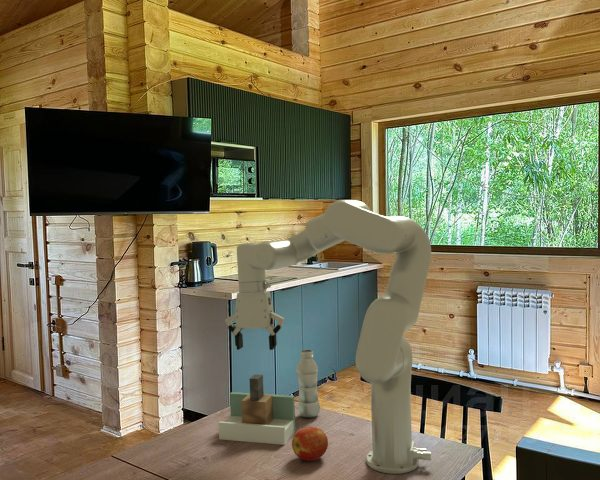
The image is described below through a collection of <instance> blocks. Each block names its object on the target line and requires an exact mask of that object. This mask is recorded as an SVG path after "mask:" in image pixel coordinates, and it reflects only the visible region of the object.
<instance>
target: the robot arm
mask: <svg viewBox="0 0 600 480" xmlns="http://www.w3.org/2000/svg"><path fill="white" fill-rule="evenodd" d="M345 241H346V242H349V243H351V244H353V245H356V246H358V247H359V248H363V249H365V250H368V251H371V252H373V253H376V254H379V255H390V254H394V253H395V259H394V262H393V264H392V267H391V269H390V272H389V276H388V282H387V286H386V288H385V292H384V294H383V295H382V296H379V297H378V298H375V299H374V300H373V301H372V302H371V303H370V305H369V307H368V308H367V309H366V313H365V315H364V318H363V321H362V327H361V330H360V335H359V339H358V344H357V348H356V353H355V366H356V370H357V373H358V374H359V375H360V377H361V378H362V379H363V380H364V381H366V382H367V383H370V398H371V399H370V404H371V405H370V407H371V408H370V409H371V410H370V411H371V440H372V441H371V445H372V448H371V449H372V450H371V451H369V452H368V453H367V454H366V459H365V460H366V464H367V465H368V467H370V468H371V469H373V470H374V471H376V472H380V473H382V474H383V473H384V474H388V475H389V474H393V475H394V474H395V475H398V474H399V475H400V474H407V473H410V472H413V471H414V470H416V469H417V468H418V466H419V464H420V460H423V461H431V462H432V452H431V451H427V448H425V447H424V448H423V447H422V448H421V447H420V448H419V447H417V446H415V441H414V440H413V439H412V438H413V437H412V435H413V434H412V408H411V407H412V404H411V402H412V392H411V390H412V389H411V386H412V385H411V384H412V383H411V382H412V371H413V370H412V369H413V368H412V367H413V352H412V351H413V350H412V347H411V344H410V343H409V341H408V339H407V338H406V337H404V333H405V332H407V331H408V330H409V331H410V329H411V328H413V327H414V325H416V323H417V321H418V318H419V314H420V309H421V304H422V300H423V295H424V291H425V287H426V282H427V280H428V279H427V278H428V274H429V270H430V266H431V260H432V246H431V241H430V238H429V236H428V234H427V232H426V231H425V229H424V228H423V227H422V226H421V224H419V223H418V222H417V221H415V220H414V219H412V218H409V217H407V216H404V215H391V216H385V215H381V214H379V213H376V212H373V211H371V208H369V206H368V205H367V204H365V202H363V201H361V200H357V199H339V200H336V201H333V202H332V203H330V205H328V206H327V208H326V209H325V212H324V213H321V214H320V215H318V216H316V217H313V218H312V219H309V220H308V221H307V222H306V224H305V229H304V230H303V231H301V232H299V233H297V234H295V235H293V236H291V237H289V238H286V239H281V240H273V241H264V242H244V243H240V244H238V245H237V247H236V260H237V261H236V263H237V277H238V279H237V280H238V281H237V282H238V292H237V294H236V297H235V299H236V300H235V309H234V310H235V311H234V312H235V313H233V314H231V315H230V316H228V317H226V318H225V319H224V322H225V324H226V326H227V328H228V329H229V331H230V332H231V333H232V335H233V336H234V344H235V346H236V350H238V351H239V350H240V349H241V350H242V348H243V347H244V338H243V337H244V334H243V333H242V331H243V330H246V329H248V330H249V329H250V330H251V329H252V330H253V329H254V330H258V329H259V330H261V329H265V330H267V332H268V333H269V335H268V345H269V347H268V348H269V351H273V350H274V349H276V347H277V344H278V341H277V333H278V332H279V331H280V330H281V329H282V327H283V325H284V322H285V320H286V319H285V317H283V316H281V315H279V314H277V313H275V312H274V306H273V301H272V296H271V293H270V292H271V291H269V290H267V289H268V288H270V289H271V286H272V284H271V282H267V279H266V271H273V270H277V269H282V268H287V267H288V268H289V267H291V266H294V265H296V264H299V263H301V262H302V261H305V260H308V259H310V258H312V257H315V255H318V254H319V253H321V252H323V251H325V250H328V249H329V248H332V247H334V246H336V245H338V244H340V243H342V242H345ZM233 320H235V325H234V323H233ZM275 320H276V321H277V324H276V326H274V324H275Z"/></svg>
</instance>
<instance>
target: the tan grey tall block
mask: <svg viewBox="0 0 600 480" xmlns="http://www.w3.org/2000/svg"><path fill="white" fill-rule="evenodd" d="M248 380H249V393H250V394H248V395H247V396H246V397H245V398H244V399H243V400H242V401H241V405H242V423H247V424H260V425H269V424H270V423H271V421H272V420H273V399H272V395H264V394H265V392H264V374H256V373H255V374H253V375H252V376H251V377H250V378H248Z"/></svg>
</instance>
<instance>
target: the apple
mask: <svg viewBox="0 0 600 480" xmlns="http://www.w3.org/2000/svg"><path fill="white" fill-rule="evenodd" d="M328 445H329V440H328V436H327V434H326V433H325V431H323V430H322V429H320V428H318V427H316V426H305V427H302V428H301V429H299V430H297V431H296V433H294V434H293V438H292V440H291V447H292V451H293V453H294V454H295V456H296V457H297V458H299V459H300V460H303V461H306V462H312V461H313V462H314V461H317V460H318V459H320V458H321V457H322V456H323V455H325V453H326V451H327V450H328Z"/></svg>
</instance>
